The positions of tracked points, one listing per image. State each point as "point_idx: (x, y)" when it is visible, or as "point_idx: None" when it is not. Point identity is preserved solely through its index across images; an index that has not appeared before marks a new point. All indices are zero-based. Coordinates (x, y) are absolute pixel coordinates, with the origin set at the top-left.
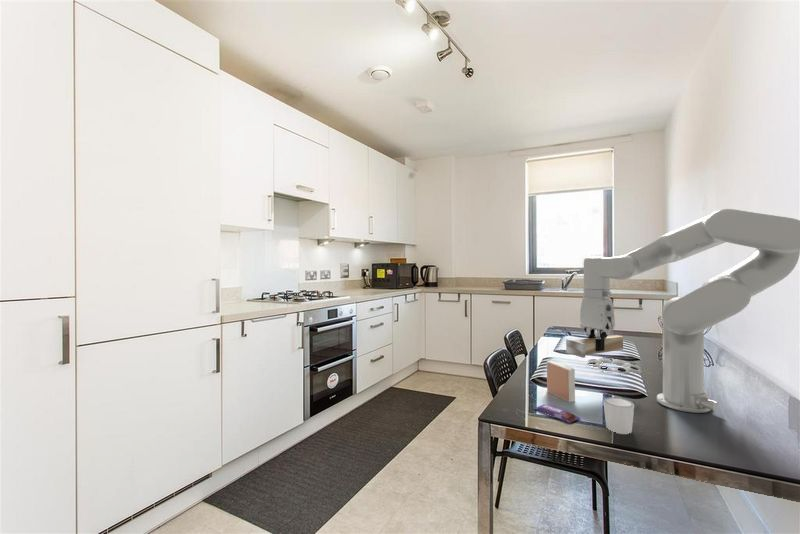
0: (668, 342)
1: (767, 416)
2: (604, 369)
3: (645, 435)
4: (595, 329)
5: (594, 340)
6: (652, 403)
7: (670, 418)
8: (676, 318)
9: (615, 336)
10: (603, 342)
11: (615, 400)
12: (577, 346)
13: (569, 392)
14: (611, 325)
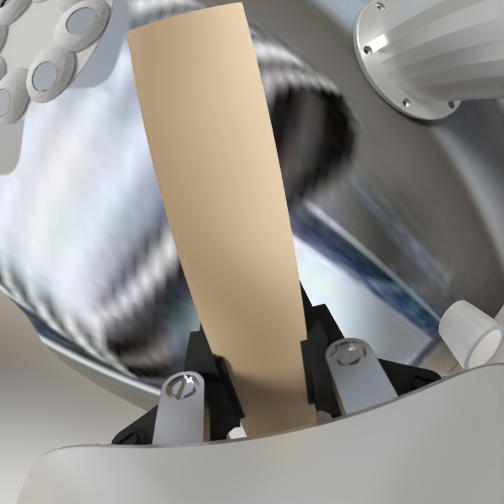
0: None
1: None
2: (55, 80)
3: (483, 288)
4: (206, 440)
5: (313, 408)
6: (395, 131)
7: (467, 176)
8: None
9: (213, 90)
10: (340, 338)
11: (479, 351)
12: None
13: None
14: (489, 404)
